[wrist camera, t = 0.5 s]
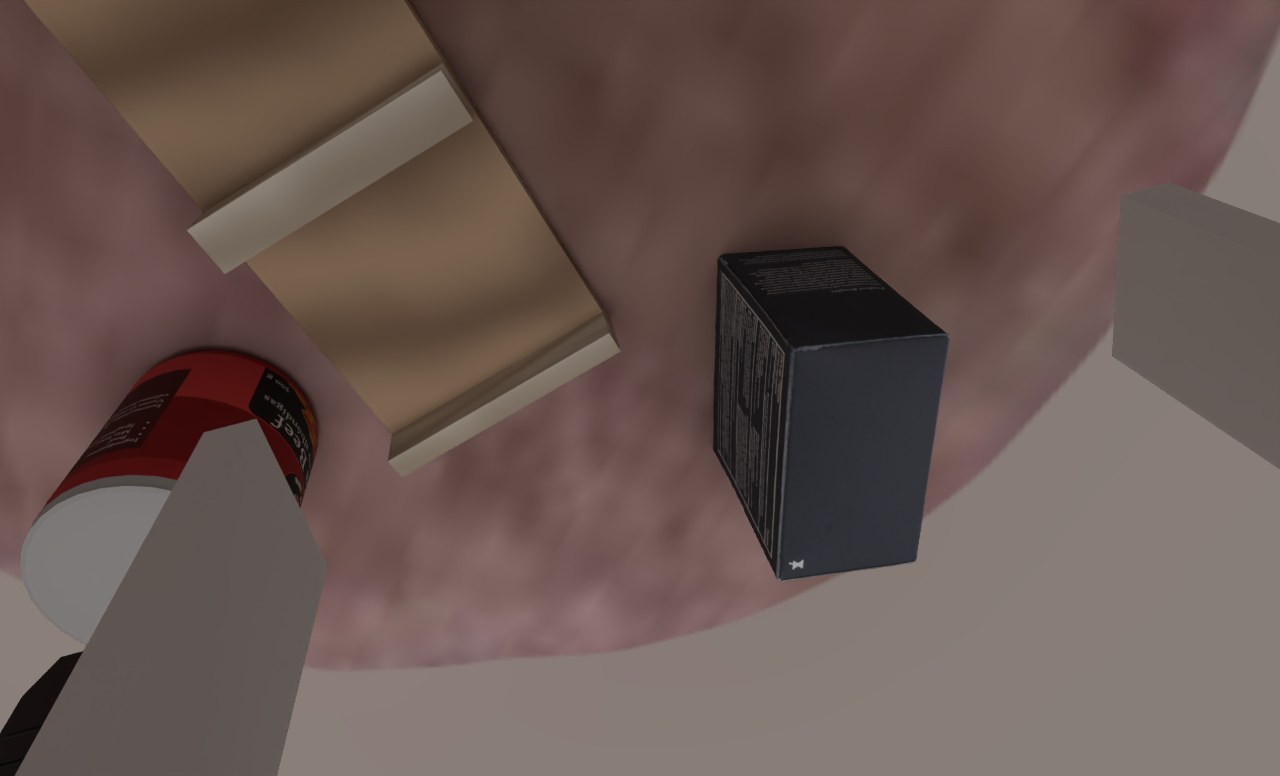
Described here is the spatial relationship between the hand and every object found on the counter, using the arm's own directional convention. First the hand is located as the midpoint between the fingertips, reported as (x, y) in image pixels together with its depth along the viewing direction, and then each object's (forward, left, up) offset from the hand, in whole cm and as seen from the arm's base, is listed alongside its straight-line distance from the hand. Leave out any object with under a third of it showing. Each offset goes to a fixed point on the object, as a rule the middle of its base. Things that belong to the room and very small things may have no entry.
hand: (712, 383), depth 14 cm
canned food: (+4, -20, -26) cm, 33 cm away
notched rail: (-3, -9, -26) cm, 27 cm away
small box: (+15, +3, -26) cm, 30 cm away
